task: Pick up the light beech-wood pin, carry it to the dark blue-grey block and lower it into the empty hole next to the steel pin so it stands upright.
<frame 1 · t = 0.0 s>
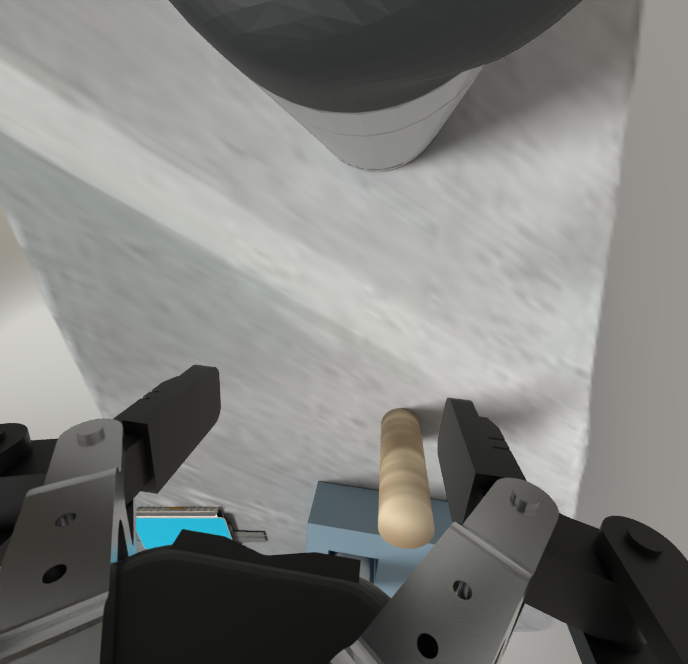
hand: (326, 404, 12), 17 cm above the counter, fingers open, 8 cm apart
bore block: (396, 532, 37), on the counter
beech pin: (400, 424, 32), on the counter
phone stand: (193, 534, 42), on the counter
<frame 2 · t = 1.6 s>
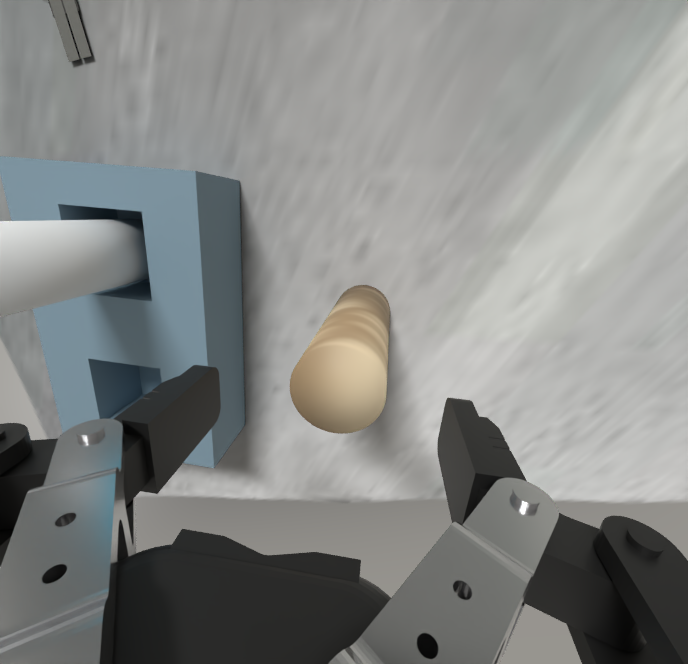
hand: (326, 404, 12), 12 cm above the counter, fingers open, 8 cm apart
bore block: (170, 309, 25), on the counter
beech pin: (362, 311, 23), on the counter
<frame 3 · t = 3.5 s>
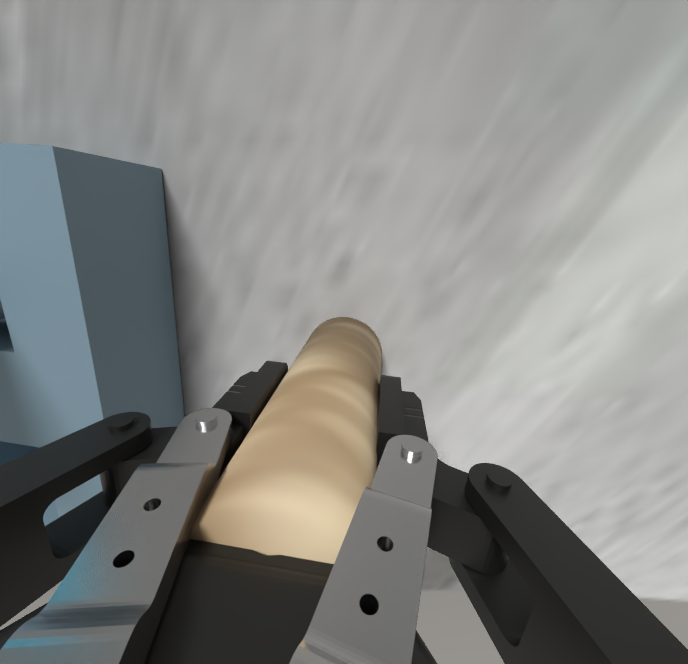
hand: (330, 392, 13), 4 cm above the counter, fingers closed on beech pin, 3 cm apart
bore block: (81, 347, 18), on the counter
beech pin: (344, 353, 16), on the counter, touching gripper
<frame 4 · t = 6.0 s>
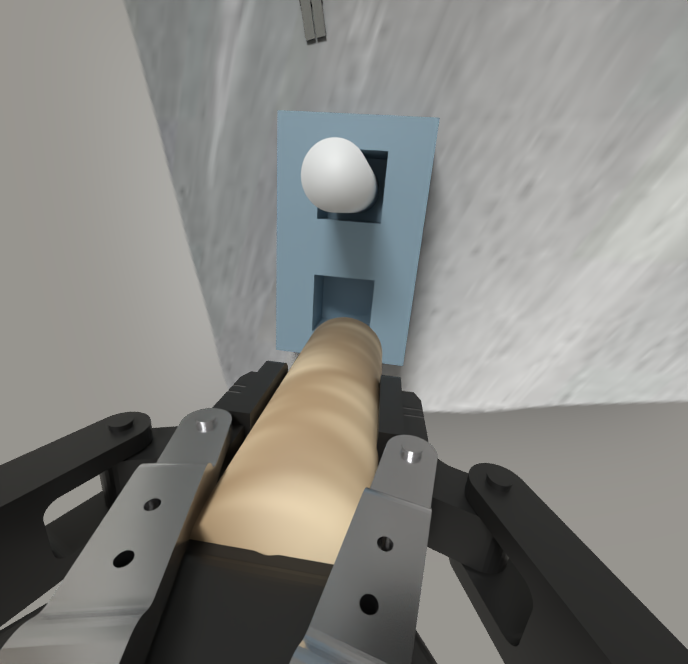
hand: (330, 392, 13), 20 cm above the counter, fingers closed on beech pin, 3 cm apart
bore block: (353, 244, 30), on the counter
beech pin: (344, 353, 16), point 16 cm above the counter, touching gripper
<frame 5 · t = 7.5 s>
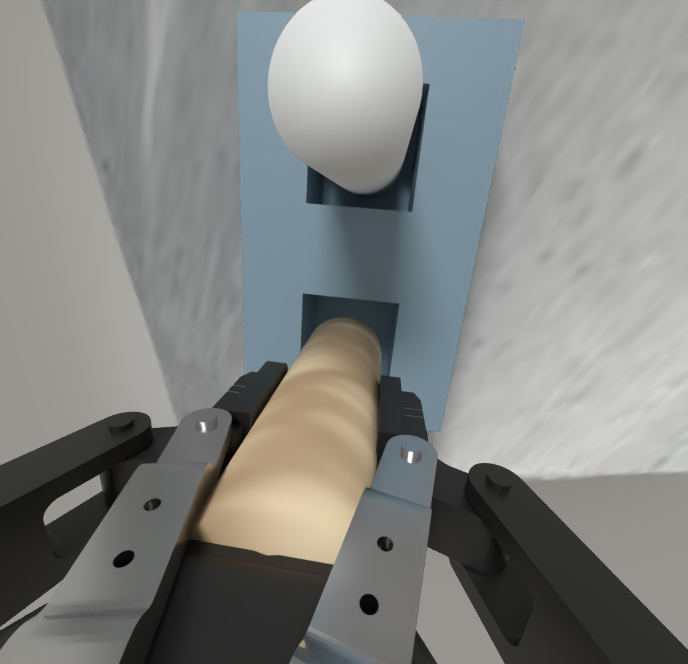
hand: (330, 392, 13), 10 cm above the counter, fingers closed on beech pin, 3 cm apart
bore block: (361, 246, 21), on the counter
beech pin: (344, 353, 16), point 6 cm above the counter, touching gripper
when the fingers open (6 cm above the counter, at t = 8.6 s): beech pin drops 1 cm, resting on bore block.
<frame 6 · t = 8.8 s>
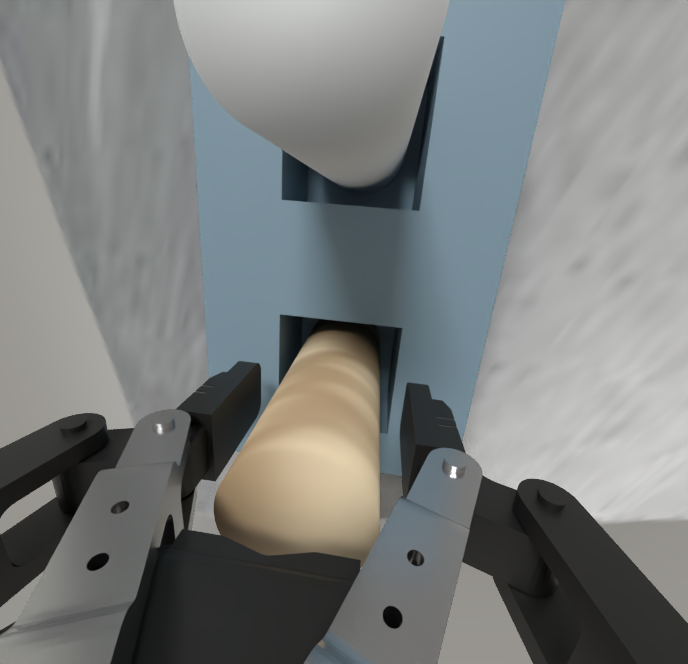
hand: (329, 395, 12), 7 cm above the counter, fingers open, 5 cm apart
bore block: (356, 252, 17), on the counter
beech pin: (345, 342, 18), point 1 cm above the counter, touching bore block
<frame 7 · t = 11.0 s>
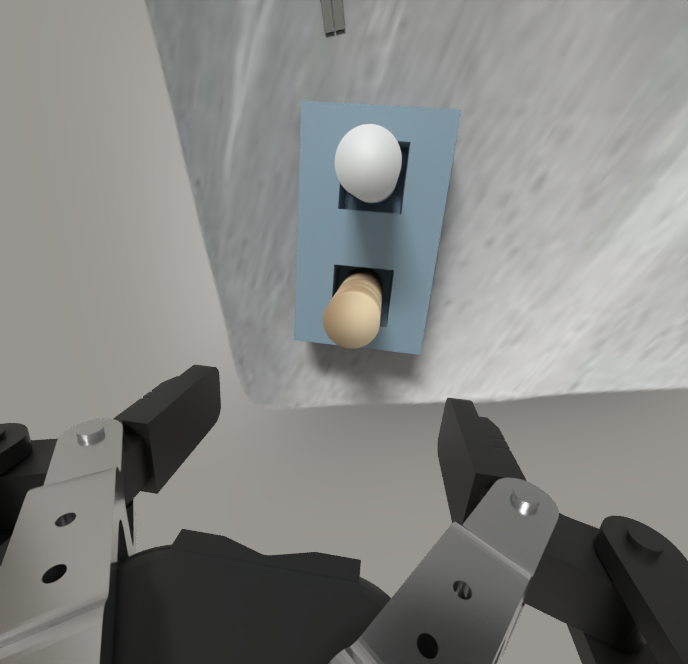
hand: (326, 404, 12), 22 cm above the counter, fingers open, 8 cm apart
bore block: (369, 236, 31), on the counter
beech pin: (363, 286, 31), point 1 cm above the counter, touching bore block
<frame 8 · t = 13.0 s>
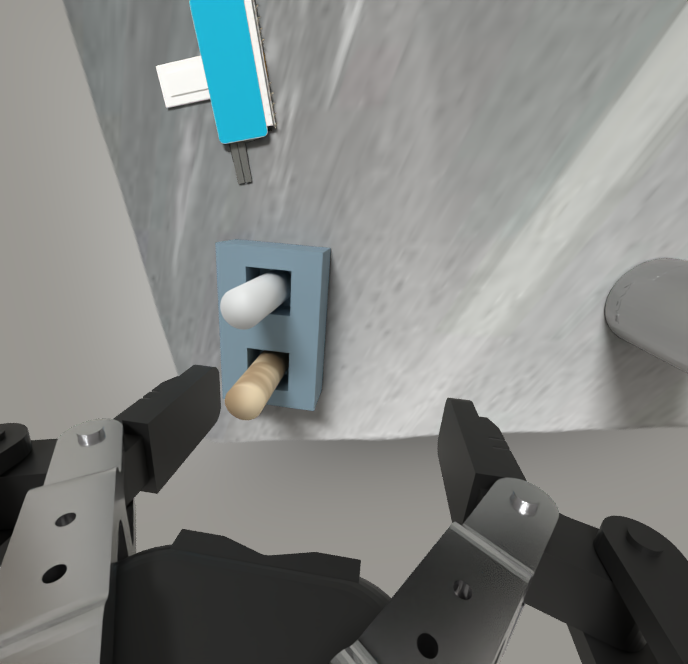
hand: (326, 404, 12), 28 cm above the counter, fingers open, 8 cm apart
bore block: (281, 319, 41), on the counter
beech pin: (278, 356, 42), point 1 cm above the counter, touching bore block
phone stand: (219, 78, 34), on the counter
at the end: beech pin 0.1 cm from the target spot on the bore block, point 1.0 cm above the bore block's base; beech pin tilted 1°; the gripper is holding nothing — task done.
